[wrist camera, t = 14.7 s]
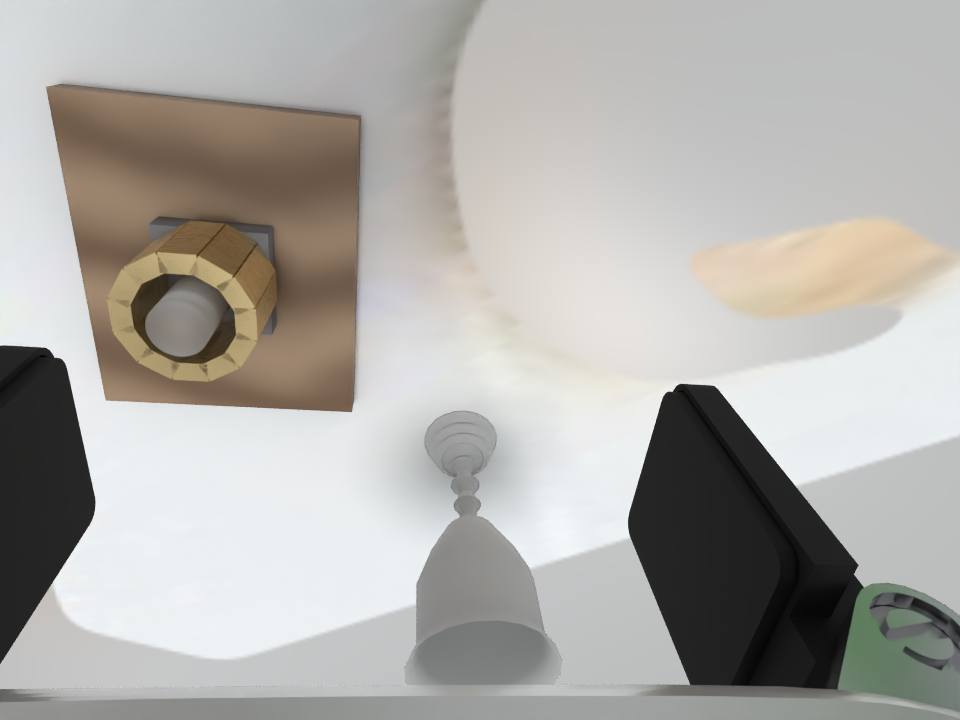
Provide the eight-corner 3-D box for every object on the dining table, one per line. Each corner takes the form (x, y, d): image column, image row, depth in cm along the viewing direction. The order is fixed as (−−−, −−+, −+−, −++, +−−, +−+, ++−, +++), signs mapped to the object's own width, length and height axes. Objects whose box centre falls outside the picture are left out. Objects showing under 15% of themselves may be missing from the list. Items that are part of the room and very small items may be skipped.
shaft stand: (61, 84, 32) (-54, 106, 24) (360, 116, 34) (343, 146, 26) (115, 387, 41) (43, 477, 33) (353, 399, 43) (339, 487, 35)
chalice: (402, 474, 46) (395, 713, 30) (415, 394, 43) (414, 615, 27) (501, 483, 47) (543, 718, 31) (521, 406, 44) (578, 624, 28)
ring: (140, 216, 33) (97, 247, 28) (274, 227, 34) (253, 259, 29) (156, 332, 36) (120, 377, 32) (278, 340, 37) (259, 384, 32)
